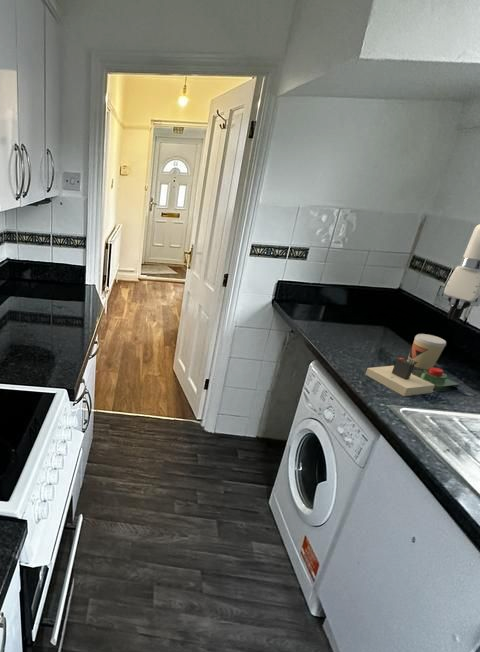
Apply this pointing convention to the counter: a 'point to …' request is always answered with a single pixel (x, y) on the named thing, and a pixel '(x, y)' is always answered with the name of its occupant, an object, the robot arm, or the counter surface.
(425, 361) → the coffee cup
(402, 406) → the counter surface
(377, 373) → the tan rectangular slab
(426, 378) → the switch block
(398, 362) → the dark brown upright block
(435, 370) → the stop button
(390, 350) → the counter surface
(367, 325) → the counter surface
